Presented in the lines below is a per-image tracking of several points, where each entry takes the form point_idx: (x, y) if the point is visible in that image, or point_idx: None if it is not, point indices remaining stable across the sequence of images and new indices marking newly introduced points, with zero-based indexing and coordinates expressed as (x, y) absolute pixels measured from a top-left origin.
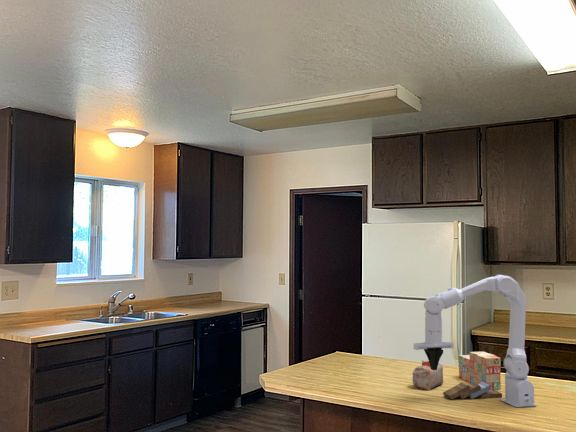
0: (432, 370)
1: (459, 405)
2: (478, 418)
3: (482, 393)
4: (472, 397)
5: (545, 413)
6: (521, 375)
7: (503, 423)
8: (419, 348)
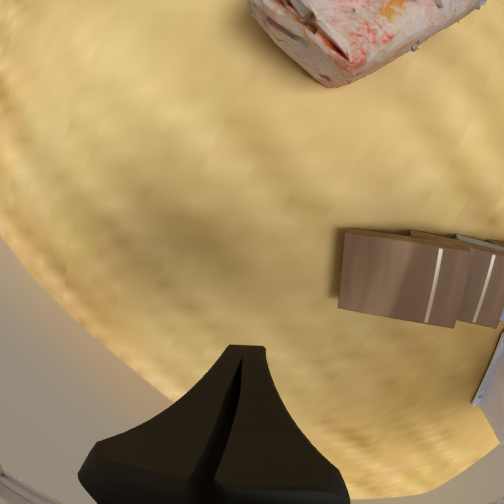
0: (396, 42)
1: (325, 368)
2: None
3: None
4: None
5: (478, 437)
6: None
7: None
8: (24, 496)
